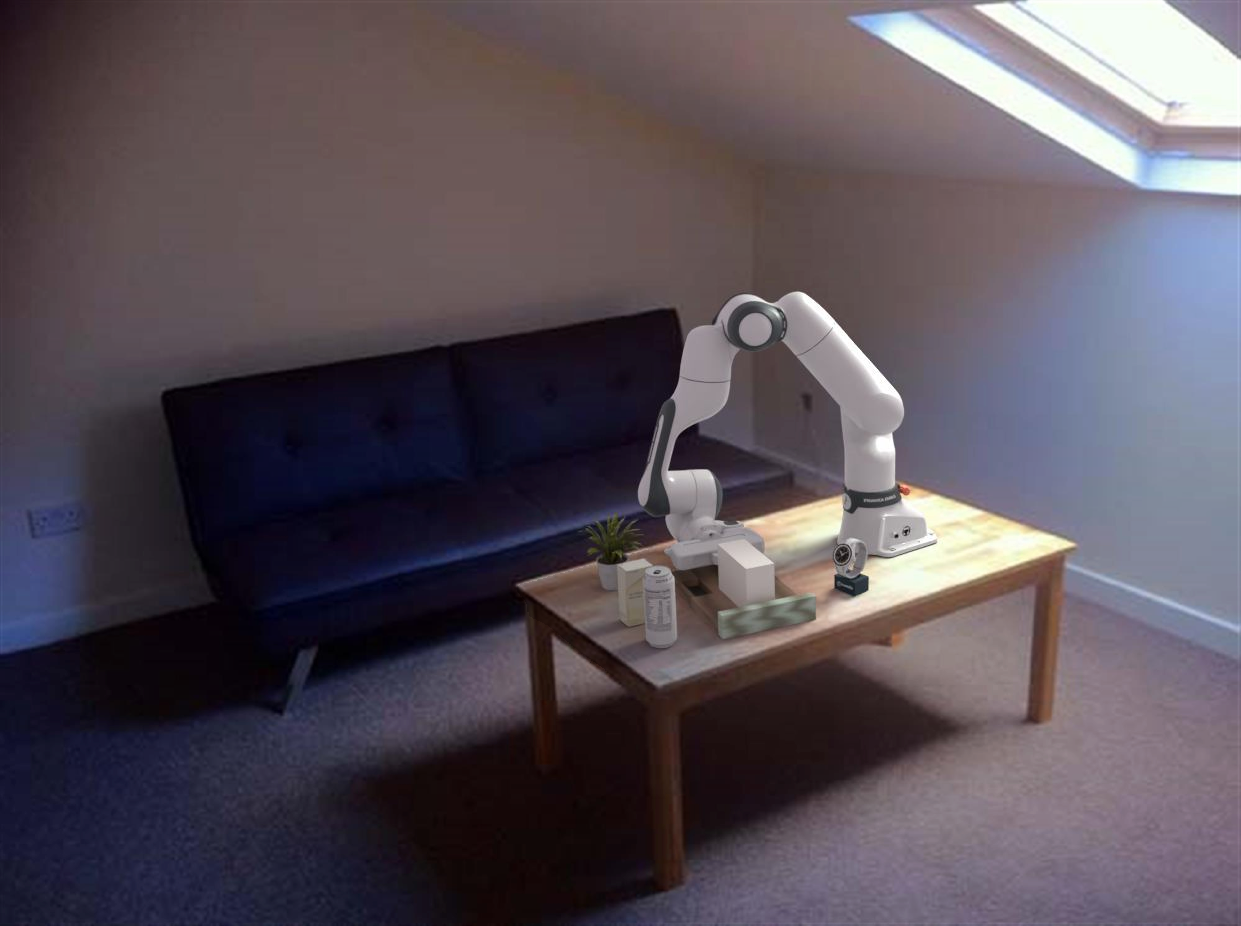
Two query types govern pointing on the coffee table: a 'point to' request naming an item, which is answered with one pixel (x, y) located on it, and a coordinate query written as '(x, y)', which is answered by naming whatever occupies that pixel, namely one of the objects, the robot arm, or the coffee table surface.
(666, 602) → the energy drink can
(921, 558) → the coffee table surface
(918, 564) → the coffee table surface
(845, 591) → the watch
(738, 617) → the wooden tray
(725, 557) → the block
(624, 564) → the skincare box
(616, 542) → the house plant
